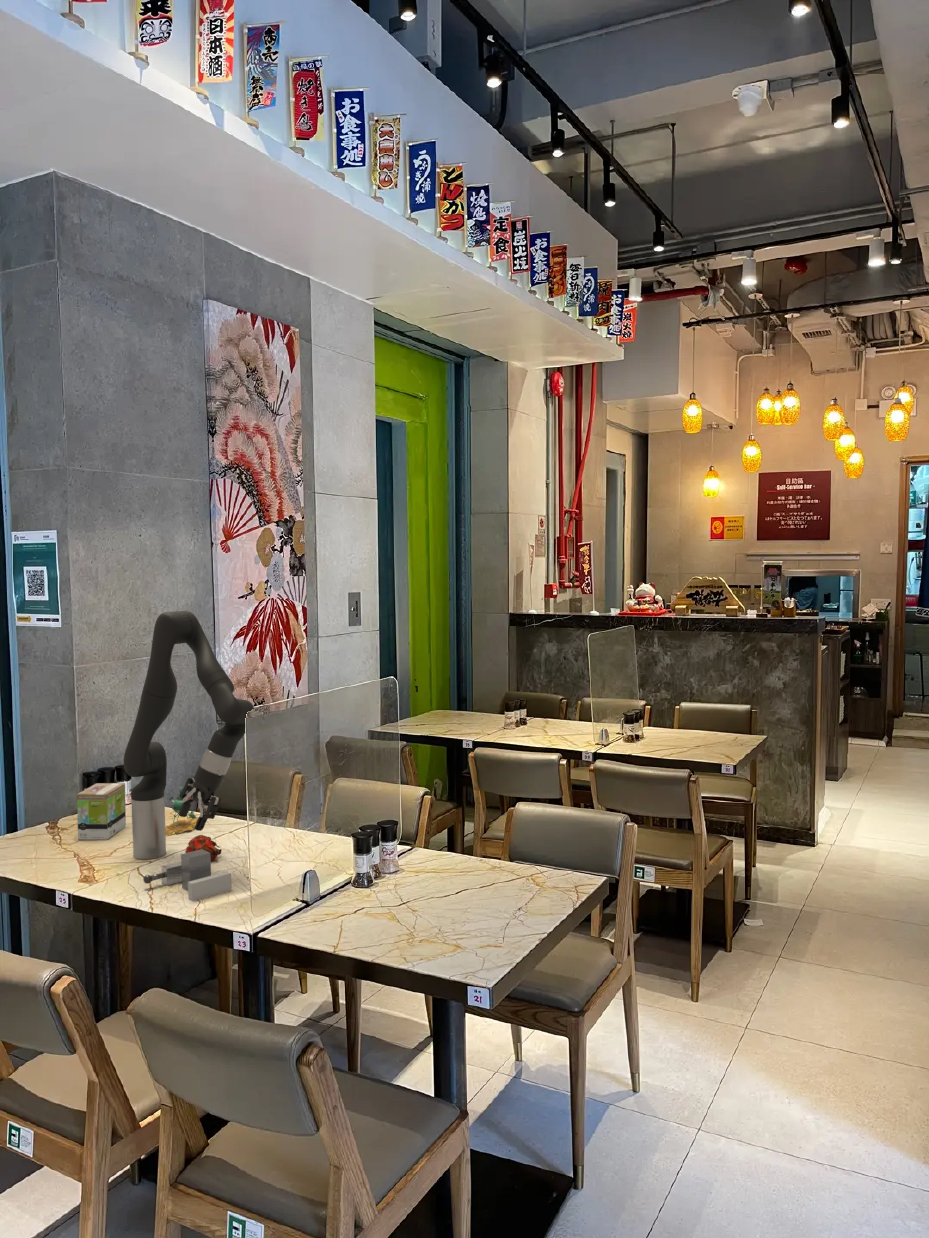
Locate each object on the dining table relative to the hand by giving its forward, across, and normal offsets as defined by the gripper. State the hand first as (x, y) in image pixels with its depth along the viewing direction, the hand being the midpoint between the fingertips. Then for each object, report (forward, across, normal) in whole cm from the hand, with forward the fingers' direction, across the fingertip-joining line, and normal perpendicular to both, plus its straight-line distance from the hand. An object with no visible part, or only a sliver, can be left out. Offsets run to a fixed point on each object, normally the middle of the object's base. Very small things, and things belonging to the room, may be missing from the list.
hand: (189, 823), depth 255 cm
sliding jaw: (+15, +5, -2) cm, 16 cm away
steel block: (+12, +13, 0) cm, 18 cm away
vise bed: (+14, +11, +1) cm, 17 cm away
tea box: (+28, -55, +13) cm, 63 cm away
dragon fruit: (+14, -6, +15) cm, 21 cm away
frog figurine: (+18, -40, +31) cm, 54 cm away
